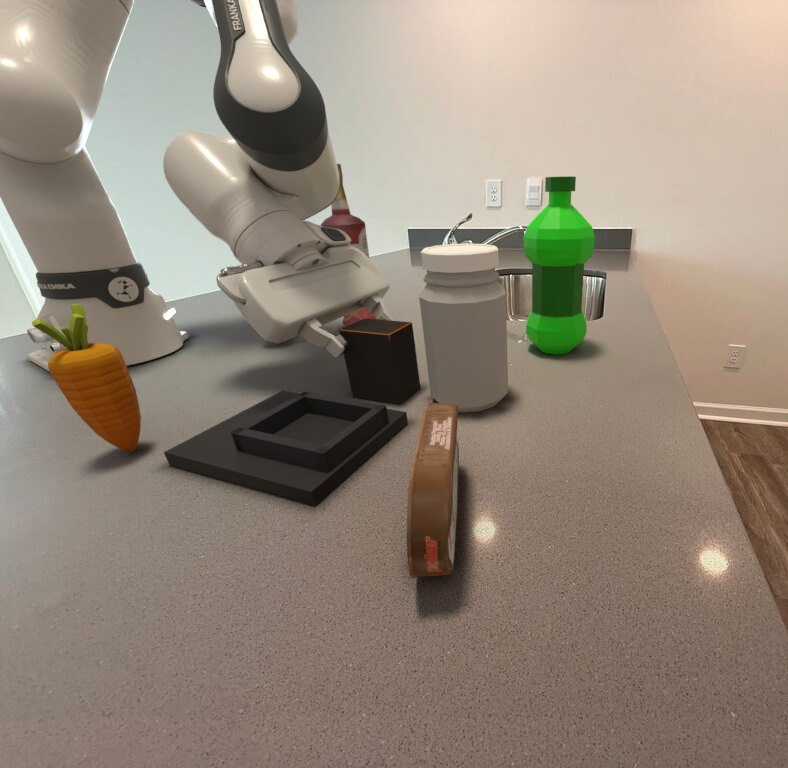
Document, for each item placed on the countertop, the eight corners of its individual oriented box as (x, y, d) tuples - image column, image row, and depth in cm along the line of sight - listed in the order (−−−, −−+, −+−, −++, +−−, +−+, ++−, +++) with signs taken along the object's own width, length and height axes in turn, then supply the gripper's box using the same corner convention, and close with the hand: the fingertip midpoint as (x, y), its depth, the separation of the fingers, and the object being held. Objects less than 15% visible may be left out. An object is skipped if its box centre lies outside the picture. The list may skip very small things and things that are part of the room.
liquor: (374, 332, 76) (345, 162, 64) (336, 333, 76) (299, 163, 64) (386, 321, 83) (361, 164, 70) (350, 321, 83) (320, 166, 71)
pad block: (352, 397, 52) (338, 329, 48) (376, 381, 56) (364, 318, 52) (400, 404, 50) (389, 334, 46) (420, 387, 54) (412, 322, 50)
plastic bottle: (548, 365, 60) (553, 175, 49) (512, 345, 68) (509, 178, 57) (600, 352, 64) (614, 175, 54) (560, 334, 73) (566, 178, 62)
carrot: (110, 471, 39) (26, 318, 32) (92, 456, 41) (10, 311, 35) (171, 446, 42) (106, 304, 36) (151, 433, 45) (87, 298, 38)
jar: (425, 387, 54) (407, 245, 46) (495, 376, 57) (489, 240, 49) (439, 423, 46) (420, 257, 38) (520, 407, 49) (518, 250, 41)
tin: (432, 463, 39) (422, 384, 35) (465, 461, 39) (459, 382, 35) (410, 609, 25) (390, 505, 22) (461, 605, 25) (450, 500, 22)
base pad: (169, 465, 39) (154, 434, 38) (285, 400, 51) (278, 375, 50) (315, 505, 34) (305, 471, 32) (408, 423, 46) (403, 395, 44)
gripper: (214, 249, 39) (319, 353, 40) (351, 229, 56) (422, 302, 58) (197, 293, 42) (295, 388, 44) (332, 261, 60) (400, 330, 61)
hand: (368, 339), depth 51 cm, fingers open, 8 cm apart
